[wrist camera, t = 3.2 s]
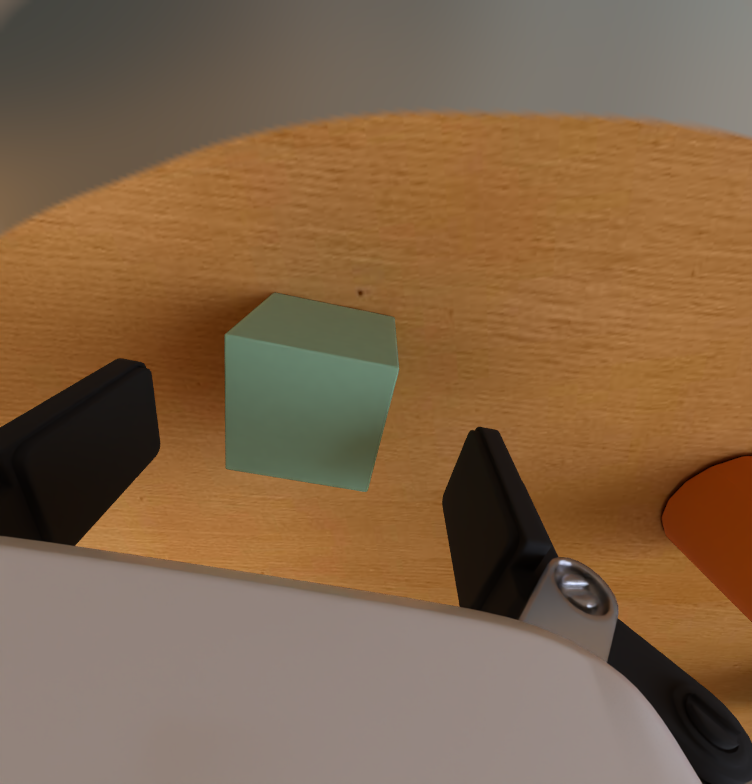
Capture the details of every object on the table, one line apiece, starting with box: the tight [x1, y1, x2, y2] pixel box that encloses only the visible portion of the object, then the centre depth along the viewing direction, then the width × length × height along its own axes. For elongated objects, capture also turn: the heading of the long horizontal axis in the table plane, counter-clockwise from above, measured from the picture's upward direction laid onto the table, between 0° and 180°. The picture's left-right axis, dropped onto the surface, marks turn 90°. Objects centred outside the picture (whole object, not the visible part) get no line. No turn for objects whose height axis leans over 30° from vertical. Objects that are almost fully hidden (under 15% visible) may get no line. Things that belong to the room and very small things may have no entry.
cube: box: [225, 293, 399, 492], centre depth 13 cm, size 5×5×5 cm
